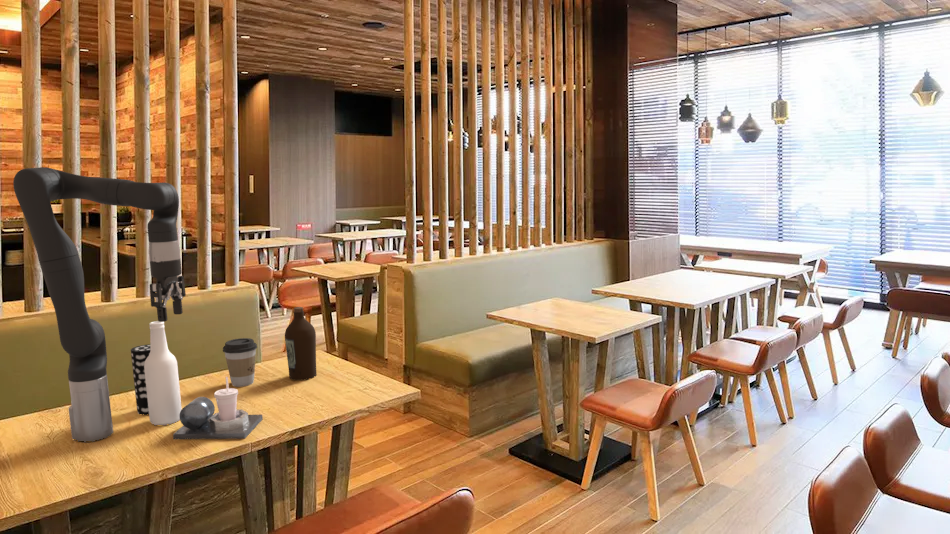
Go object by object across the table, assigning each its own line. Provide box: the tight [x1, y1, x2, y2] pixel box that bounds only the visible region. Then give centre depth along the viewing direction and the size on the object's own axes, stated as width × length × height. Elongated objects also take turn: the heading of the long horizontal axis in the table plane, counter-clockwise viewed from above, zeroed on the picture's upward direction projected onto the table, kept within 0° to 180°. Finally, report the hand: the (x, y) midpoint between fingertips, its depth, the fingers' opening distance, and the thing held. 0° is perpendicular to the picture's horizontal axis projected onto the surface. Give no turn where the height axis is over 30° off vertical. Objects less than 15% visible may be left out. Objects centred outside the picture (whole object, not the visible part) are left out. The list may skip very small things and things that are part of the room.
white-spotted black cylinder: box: [130, 344, 151, 416], centre depth 204 cm, size 8×8×20 cm
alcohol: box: [144, 320, 183, 426], centre depth 194 cm, size 9×9×30 cm
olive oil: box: [284, 306, 317, 381], centre depth 234 cm, size 11×11×25 cm
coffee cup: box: [222, 337, 258, 388], centre depth 229 cm, size 11×11×15 cm
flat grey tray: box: [172, 396, 264, 440], centre depth 188 cm, size 20×14×8 cm
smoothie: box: [213, 376, 239, 421], centre depth 187 cm, size 6×6×14 cm
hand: (170, 317), depth 178 cm, fingers open, 8 cm apart
